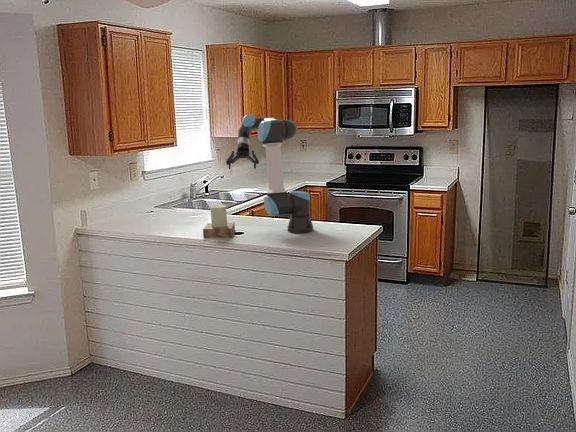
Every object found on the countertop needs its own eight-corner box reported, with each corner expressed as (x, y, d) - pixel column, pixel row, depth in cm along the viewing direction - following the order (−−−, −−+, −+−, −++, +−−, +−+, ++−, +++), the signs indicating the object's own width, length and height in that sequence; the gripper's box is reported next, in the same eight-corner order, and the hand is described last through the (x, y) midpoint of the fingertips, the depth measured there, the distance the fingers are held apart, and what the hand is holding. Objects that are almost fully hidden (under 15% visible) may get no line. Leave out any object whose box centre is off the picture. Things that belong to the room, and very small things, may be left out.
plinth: (234, 230, 334) (234, 222, 333) (231, 237, 318) (231, 228, 317) (208, 231, 334) (207, 223, 333) (203, 237, 318) (202, 229, 317)
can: (219, 223, 332) (218, 203, 329) (230, 225, 326) (229, 204, 323) (208, 226, 325) (206, 205, 322) (219, 228, 319) (218, 207, 316)
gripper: (263, 149, 358) (262, 175, 346) (224, 150, 359) (222, 176, 347) (262, 141, 352) (261, 168, 340) (223, 142, 352) (220, 169, 341)
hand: (242, 172), depth 343 cm, fingers open, 13 cm apart
